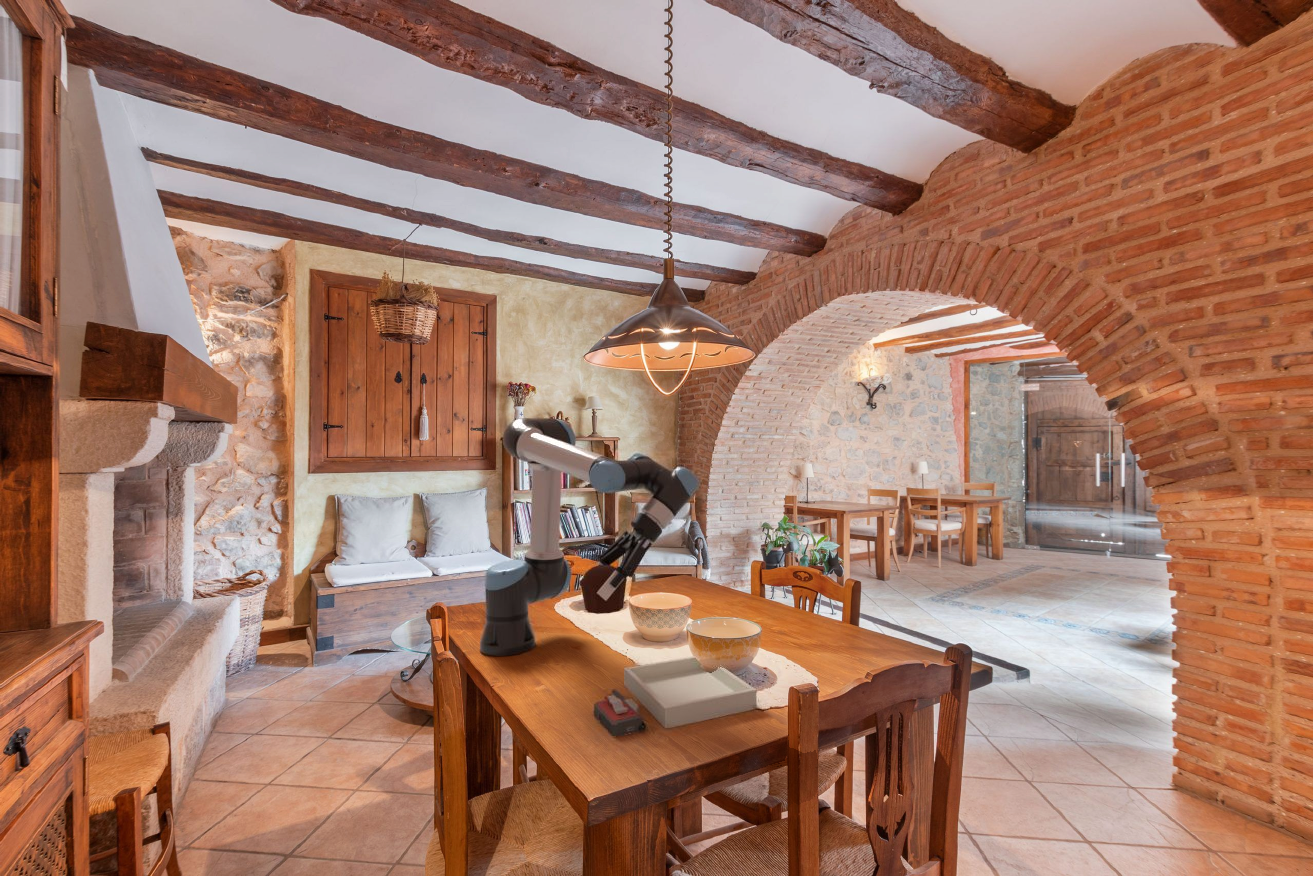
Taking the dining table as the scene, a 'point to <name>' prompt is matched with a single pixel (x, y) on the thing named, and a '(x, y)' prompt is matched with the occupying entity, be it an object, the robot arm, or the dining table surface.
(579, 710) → the dining table surface
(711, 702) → the tray
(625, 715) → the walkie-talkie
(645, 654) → the dining table surface
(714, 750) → the dining table surface
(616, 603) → the muffin
